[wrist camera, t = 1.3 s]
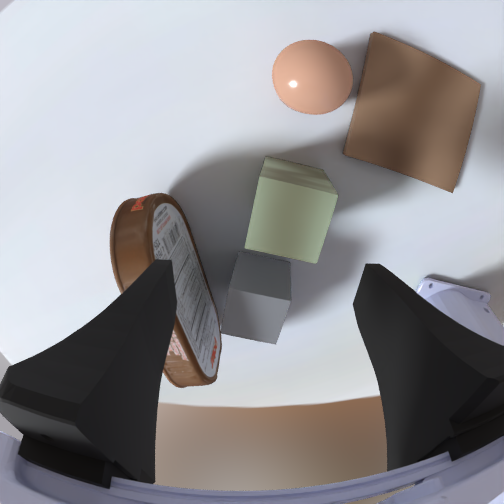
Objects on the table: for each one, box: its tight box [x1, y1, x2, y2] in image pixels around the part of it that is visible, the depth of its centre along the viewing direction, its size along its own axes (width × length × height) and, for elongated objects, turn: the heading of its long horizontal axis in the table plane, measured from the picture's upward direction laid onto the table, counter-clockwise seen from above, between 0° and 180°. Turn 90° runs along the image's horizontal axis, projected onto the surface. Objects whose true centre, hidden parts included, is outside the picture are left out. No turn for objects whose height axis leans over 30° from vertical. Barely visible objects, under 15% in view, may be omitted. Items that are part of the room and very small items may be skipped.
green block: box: [245, 156, 338, 264], centre depth 18 cm, size 4×4×6 cm
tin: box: [110, 193, 222, 388], centre depth 21 cm, size 15×3×8 cm, turn 13°
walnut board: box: [343, 32, 481, 193], centre depth 16 cm, size 9×9×1 cm
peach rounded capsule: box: [272, 40, 353, 115], centre depth 15 cm, size 4×4×5 cm
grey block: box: [220, 251, 291, 344], centre depth 22 cm, size 4×4×5 cm
